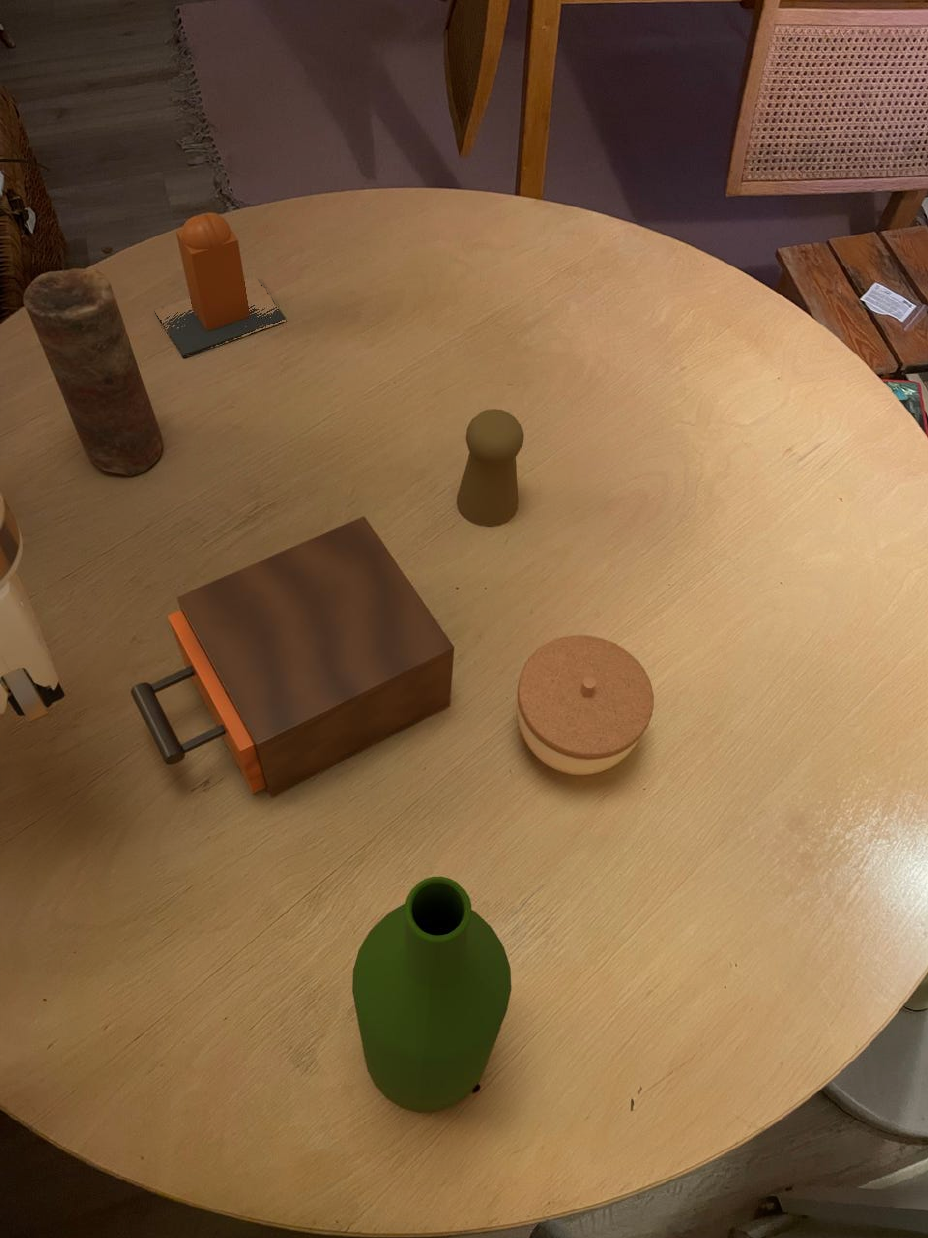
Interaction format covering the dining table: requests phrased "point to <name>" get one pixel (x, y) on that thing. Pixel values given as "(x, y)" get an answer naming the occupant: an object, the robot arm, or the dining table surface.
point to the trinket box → (583, 704)
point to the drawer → (214, 700)
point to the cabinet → (322, 651)
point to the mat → (199, 339)
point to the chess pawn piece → (491, 469)
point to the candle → (95, 368)
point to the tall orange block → (213, 270)
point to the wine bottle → (430, 997)
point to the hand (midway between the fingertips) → (38, 697)
